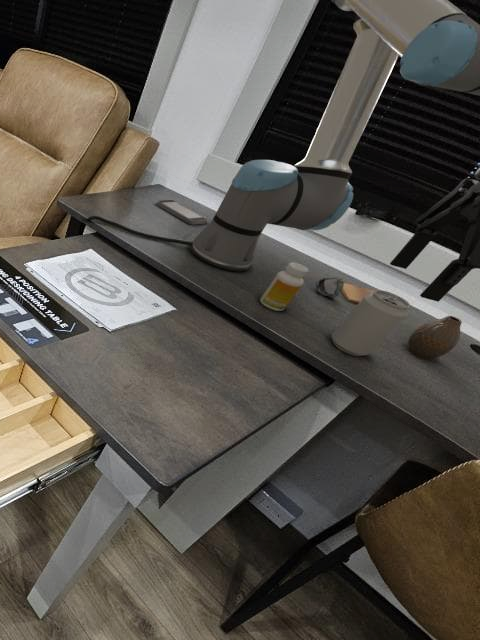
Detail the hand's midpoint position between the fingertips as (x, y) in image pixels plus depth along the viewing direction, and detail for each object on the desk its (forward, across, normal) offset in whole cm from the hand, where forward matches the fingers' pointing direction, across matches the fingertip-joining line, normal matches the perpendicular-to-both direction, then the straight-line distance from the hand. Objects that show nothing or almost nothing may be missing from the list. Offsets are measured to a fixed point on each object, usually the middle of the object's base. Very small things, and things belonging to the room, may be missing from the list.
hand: (412, 281), depth 83 cm
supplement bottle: (+16, +10, +14) cm, 24 cm away
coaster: (+16, +30, -12) cm, 36 cm away
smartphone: (+15, +57, +33) cm, 68 cm away
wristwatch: (+16, +25, -1) cm, 30 cm away
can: (+16, 0, 0) cm, 16 cm away
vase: (+16, +8, -16) cm, 24 cm away
